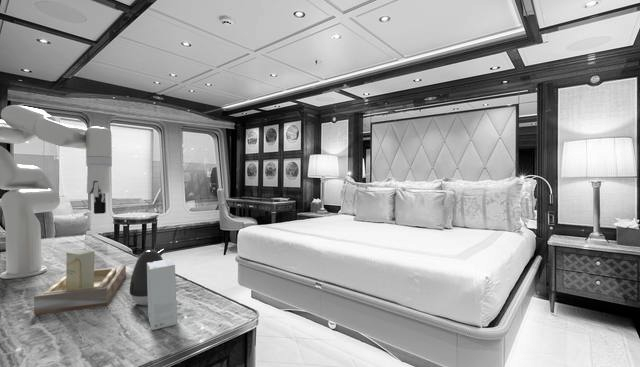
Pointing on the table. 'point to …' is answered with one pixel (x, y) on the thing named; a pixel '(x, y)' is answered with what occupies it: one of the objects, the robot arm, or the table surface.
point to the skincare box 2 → (161, 294)
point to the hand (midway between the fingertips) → (99, 213)
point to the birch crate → (100, 281)
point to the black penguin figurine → (142, 276)
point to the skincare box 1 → (80, 269)
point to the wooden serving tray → (78, 297)
